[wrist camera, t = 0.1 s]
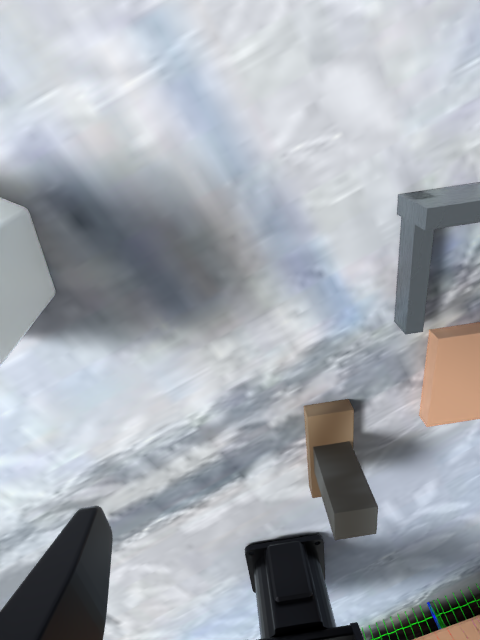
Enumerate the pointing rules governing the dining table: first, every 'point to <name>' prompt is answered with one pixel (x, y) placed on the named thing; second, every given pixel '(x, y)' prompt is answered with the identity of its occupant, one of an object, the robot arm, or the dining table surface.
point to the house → (467, 636)
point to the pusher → (338, 470)
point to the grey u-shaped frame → (426, 243)
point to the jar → (20, 276)
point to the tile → (451, 375)
